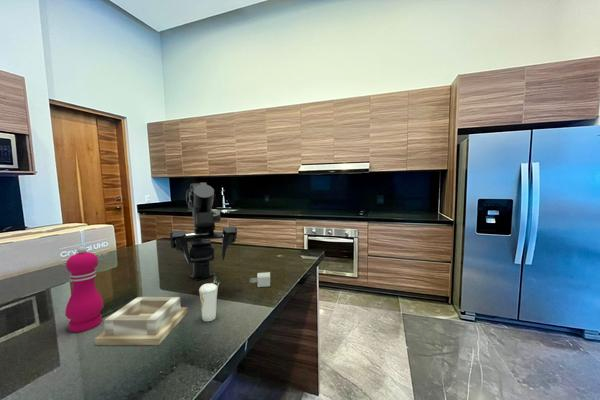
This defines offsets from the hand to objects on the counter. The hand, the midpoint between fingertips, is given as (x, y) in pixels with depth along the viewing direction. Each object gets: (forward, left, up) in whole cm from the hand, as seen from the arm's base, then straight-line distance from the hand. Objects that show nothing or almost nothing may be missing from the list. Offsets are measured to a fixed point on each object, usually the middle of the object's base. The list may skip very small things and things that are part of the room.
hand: (207, 261), depth 72 cm
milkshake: (+7, -3, -13) cm, 15 cm away
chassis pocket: (-2, -15, -13) cm, 20 cm away
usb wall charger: (+1, +20, -13) cm, 24 cm away
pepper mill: (-15, -24, -13) cm, 32 cm away
